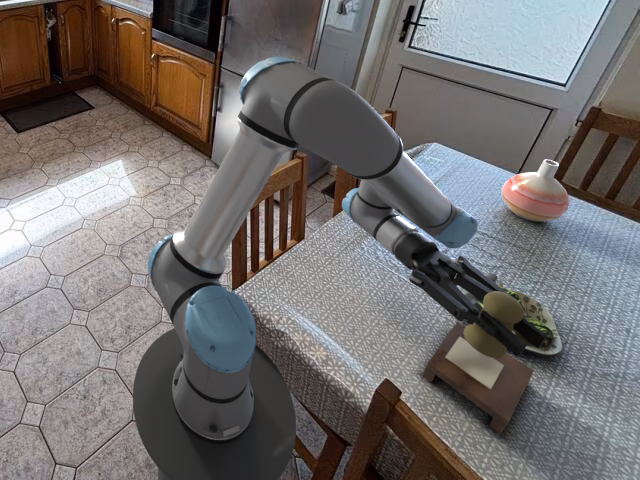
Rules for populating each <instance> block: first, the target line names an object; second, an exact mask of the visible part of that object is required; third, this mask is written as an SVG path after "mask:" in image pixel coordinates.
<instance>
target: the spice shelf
mask: <svg viewBox="0 0 640 480" xmlns="http://www.w3.org/2000/svg"><path fill="white" fill-rule="evenodd" d="M466 327H467V326H465V325H464V324H462V323H460V321H456V322H455V324H454V325H453V327H452V329H451V330H450V331H449V333H448V334H447V335H446V336H445V338H444V339H443V341H442V342H441V344H440V345H439V347H438V348H437V349H436V350H435V352H434V354H433V355H432V356H431V358H430V359H429V360H428V362H427V364H426V366H425V368H424V370H423V372H422V374H421V376H422V377H423V378H425V379H426V380H427V381H429V382H430V383H432V382H433V381H434V379H435V378H436V377H438V378H439V379H441V380H442V381H444V382H445V383H446V384H447V385H448V386H451V388H453V389H455V390H456V391H457V392H458V393H460V394H461V395H462V396H464V397H465V398H466V399H468V400H469V401H471V402H472V404H474V405H476V406H477V407H478V408H480V409H481V410H482V411H484V412H485V413H486V414H488V415H489V416H491V417H492V419H491V421H490V423H489V425H488V427H489V428H490V429H491V430H493V431H495V432H496V433H497V434H498V435H501V434H502V433H503V431H504V430H505V429H506V427H507V426H508V424H509V422H510V421H511V419H512V416H513V415H514V414H515V413H514V412H515V411H516V408H517V406H518V405H519V402H520V400H521V398H522V396H523V395H524V393H525V390H526V389H527V386H528V384H529V382H530V379H531V378H532V376H533V375H534V371H535V370H534V369H532V368H531V367H529V366H528V365H526V364H524V363H523V362H521V361H520V360H518V359H517V358H515V357H514V356H512V355H510V354H509V353H507V352H506V354H505V356H504V357H503V358H491V357H488V356H485V355H483V354H482V353H480V352H478V351H477V350H475V349H474V348H473V347H472V346H471V345H470V344H469V343H468V342H467V340H466V339H465V337H464V329H465V328H466Z"/></svg>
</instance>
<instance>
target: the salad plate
mask: <svg viewBox="0 0 640 480" xmlns="http://www.w3.org/2000/svg"><path fill="white" fill-rule="evenodd" d="M485 276H487V277H488V278H489V279H491V280H492V281H493V282H494V283H496V284H497V285H498V286H499V287H501V288H502V289H503V290H505V291H506V292H507V293H508V294H509V295H510V296H512V297H513V298H515V299H516V300H517V301H518V302H519V303H520V304H521V305H522V308H523V310H524V317H525V318H526V319H527V321H528V322H530V323H531V324H532V325H534V326H535V327H536V328H537V329H539V330H540V331H541V332H542V333H544V334H545V335H546V336H548V337H547V339H546V340H545V342H544V343H543V345H542V346H541V347H540V348H537V347H535V346H534V345H533V344H532V343H530V342H529V341H528V340H527V339H526V338H524V337H523V336H522V335H521V334H519V333H518V332H517V331H516V330H515V329H513V330H512V333H513V334H514V335H515V336H517V337H518V338H519V339H520V340H522V341H523V342H524V343H525V344H526V345H527V346H526V348H525V349H524V351H523V353H522V354H526V355H530V356H534V357H539V358H540V357H541V358H544V359H545V358H554V357H556V356H558V355H559V354H560V353H561V352H562V351H563V348H564V347H563V342H562V340H561V336H560V334H559V331H558V329H557V326H556V322H555V320H554V318H553V316H552V314H551V312H550V311H549V310H548V309H547V308H546V307H545V305H543V304H542V303H541V302H539V301H538V300H536V299H535V298H533V297H531V296H530V295H528V294H525V293H523V292H520V291H517V290H513V289H512V288H507V287H504V286H503V285H504V284H503V283H497V280H498V276H497V274H495V273H493V272H488V273H487V274H485ZM458 289H459V290H460V291H461V292H462V293H463V294H464V295H465V296H466V297H467V298H468V299H469V300H470V301H471V302H472V303H473V304H474V305H475V306H476V307H477V308H478V309H479V311H481V309H482V308H483V307H484V305H483V301H481V300H480V299H478V298H477V297H475V296H474V295H472V294H471V293H469V292H468V291H466V290H465V289H463V288H462V287H460V286H458ZM456 310H457V309H456ZM457 311H458V310H457Z"/></svg>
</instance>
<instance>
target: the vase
mask: <svg viewBox="0 0 640 480" xmlns="http://www.w3.org/2000/svg"><path fill="white" fill-rule="evenodd" d="M559 166H560V164H559V163H558V162H556V161H554V160H551V159H543V161H542V163H541V165H540V166H539V168H538V170H537V171H532V172H531V171H528V172H521V173H518V174H515V175H512V176H511V177H509V178H508V179H507V180H506V181H505V182H503V185H502V186H501V189H500V196H501V199H502V201H503V203H504V204H505V206H506V207H507V208H508V209H509V210H510V211H511V212H512V213H513V215H516V216H518V217H519V218H521V219H524V220H527V221H530V222H551V221H555V220H558V219H560V218H562V217H563V216H564V215H565V214H566V213H567V211H568V209H569V207H570V197H569V194H568V192H567V189H566V188H565V187H564V185H562V183H560V181H558V180H557V179H556V178H555V175H556V173H557V171H558V169H559Z"/></svg>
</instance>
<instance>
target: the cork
mask: <svg viewBox="0 0 640 480" xmlns="http://www.w3.org/2000/svg"><path fill="white" fill-rule="evenodd" d="M483 305H484V307H483V308H482V309H481V311H480V312H479V313H480V314H481V312H482V311H486V312H488V314H490V315H491V316H492V317H493V318H495V319H496V320H497V321H498V322H500V323H501V324H502V325H503V326H505V327H506V328H507V329H508V330H509V331H511V332H512V330H513V326H514V324H515V323H518V322H520V321H521V320H522V318H523V316H524V310H523V308H522V305H521V304H520V303H519V302H518V301H517V300H516V299H515V298H513V297H512V296H510V295H508V294H506V293H503V292H500V291H493V292H489V293H488V294H486V295H485V297H484V300H483ZM465 327H466V328H465V329H464V337H465V339H466V340H467V342H468V343H469V344H470V345H471V346H472V347H473V348H474V349H475V350H477V351H478V352H480V353H482V354H483V355H485V356H488V357H491V358H503V357H504V356H505V354H506V353H507V351H508V349H507V348H506V347H505V346H504V345H503V344H502V343H500V342H499V341H498V340H497V339H496V338H495V337H492V336H490V335H488V334H487V333H486V332H485V331H484V330H483V329H481V328H480V327H479V326H478V325H477V324H476V323H473V325H470V324H467V325H466V326H465Z"/></svg>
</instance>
